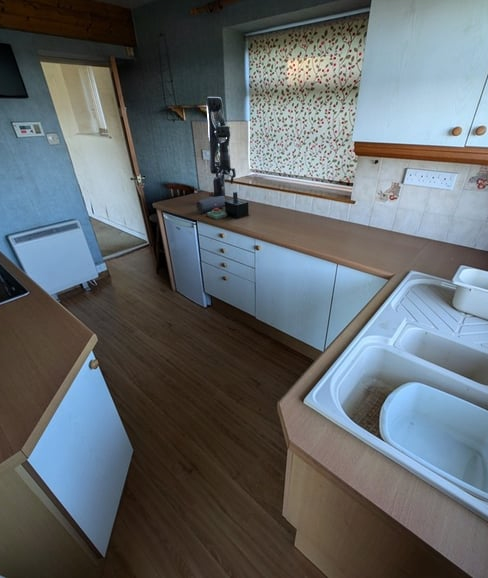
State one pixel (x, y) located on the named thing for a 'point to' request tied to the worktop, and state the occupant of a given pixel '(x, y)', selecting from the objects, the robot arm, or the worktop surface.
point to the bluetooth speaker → (211, 204)
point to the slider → (235, 195)
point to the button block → (216, 214)
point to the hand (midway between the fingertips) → (226, 183)
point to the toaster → (236, 208)
